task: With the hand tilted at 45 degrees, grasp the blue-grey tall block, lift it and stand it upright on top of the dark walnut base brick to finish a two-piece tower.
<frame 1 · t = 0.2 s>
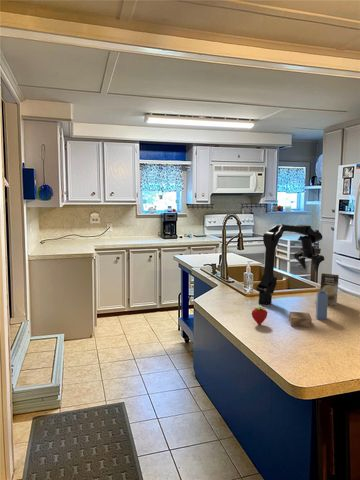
hand: (310, 270, 219), 15 cm above the worktop, fingers open, 9 cm apart
coffee box: (328, 303, 206), on the worktop
strawberry: (259, 325, 172), on the worktop
walnut base: (299, 323, 174), on the worktop
blue-grey tall block: (320, 318, 181), on the worktop
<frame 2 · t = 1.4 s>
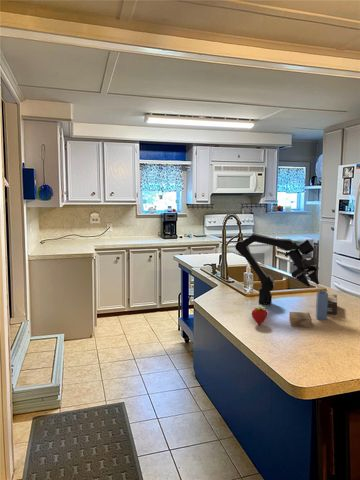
hand: (314, 285, 190), 14 cm above the worktop, fingers open, 9 cm apart
coffee box: (328, 298, 203), point 3 cm above the worktop
everything else where it was.
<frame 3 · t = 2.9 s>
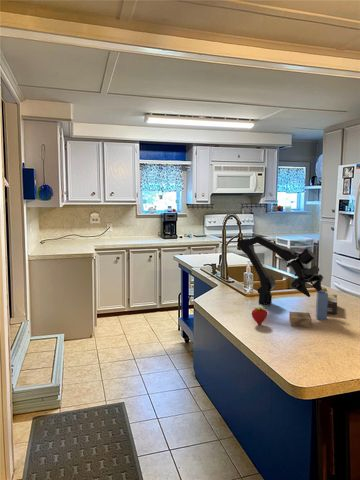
hand: (316, 295, 183), 11 cm above the worktop, fingers open, 9 cm apart
nothing on the worktop moved.
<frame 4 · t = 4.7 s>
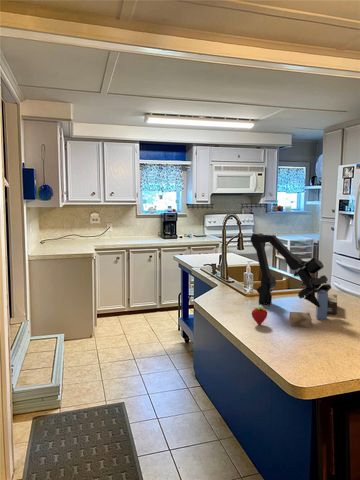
hand: (324, 305, 179), 7 cm above the worktop, fingers closed on blue-grey tall block, 6 cm apart
blue-grey tall block: (321, 318, 181), on the worktop, touching gripper
everything else where it was.
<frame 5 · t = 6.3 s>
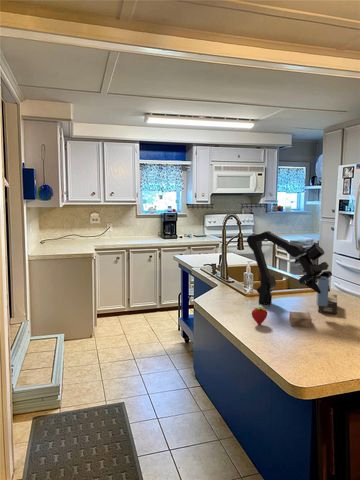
hand: (324, 292, 178), 13 cm above the worktop, fingers closed on blue-grey tall block, 6 cm apart
blue-grey tall block: (321, 304, 180), point 7 cm above the worktop, touching gripper
everything else where it was.
when the fingers open (12 cm above the worktop, at t = 8.3 s): blue-grey tall block drops 1 cm, resting on walnut base.
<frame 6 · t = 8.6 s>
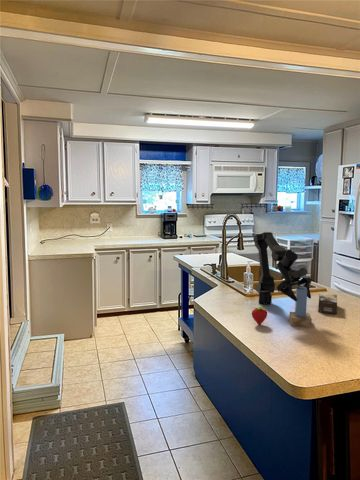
hand: (303, 299, 171), 12 cm above the worktop, fingers open, 9 cm apart
blue-grey tall block: (300, 315, 173), point 4 cm above the worktop, touching walnut base
everything else where it was.
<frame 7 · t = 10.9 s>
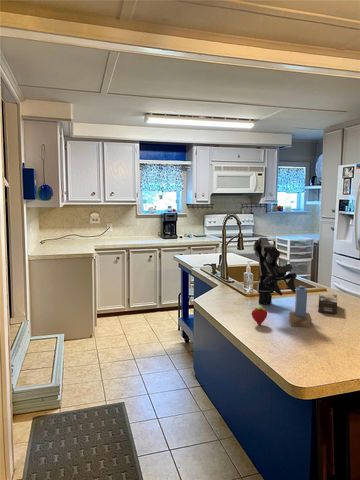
hand: (288, 293, 180), 12 cm above the worktop, fingers open, 9 cm apart
nothing on the worktop moved.
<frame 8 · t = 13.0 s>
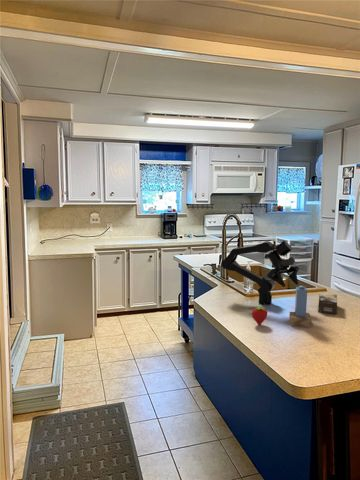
hand: (291, 285, 190), 14 cm above the worktop, fingers open, 9 cm apart
nothing on the worktop moved.
at the end: blue-grey tall block 0.0 cm off-centre on the walnut base, point 4.0 cm above the walnut base's base; blue-grey tall block tilted 0°; the gripper is holding nothing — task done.
